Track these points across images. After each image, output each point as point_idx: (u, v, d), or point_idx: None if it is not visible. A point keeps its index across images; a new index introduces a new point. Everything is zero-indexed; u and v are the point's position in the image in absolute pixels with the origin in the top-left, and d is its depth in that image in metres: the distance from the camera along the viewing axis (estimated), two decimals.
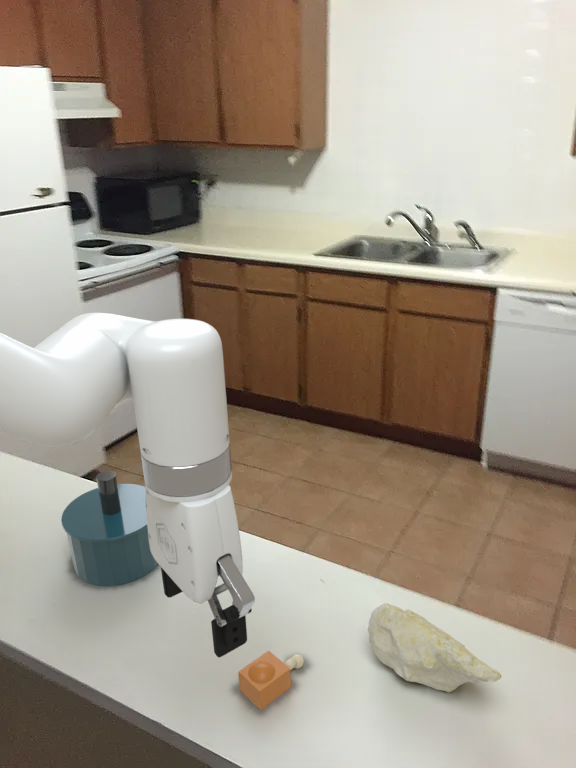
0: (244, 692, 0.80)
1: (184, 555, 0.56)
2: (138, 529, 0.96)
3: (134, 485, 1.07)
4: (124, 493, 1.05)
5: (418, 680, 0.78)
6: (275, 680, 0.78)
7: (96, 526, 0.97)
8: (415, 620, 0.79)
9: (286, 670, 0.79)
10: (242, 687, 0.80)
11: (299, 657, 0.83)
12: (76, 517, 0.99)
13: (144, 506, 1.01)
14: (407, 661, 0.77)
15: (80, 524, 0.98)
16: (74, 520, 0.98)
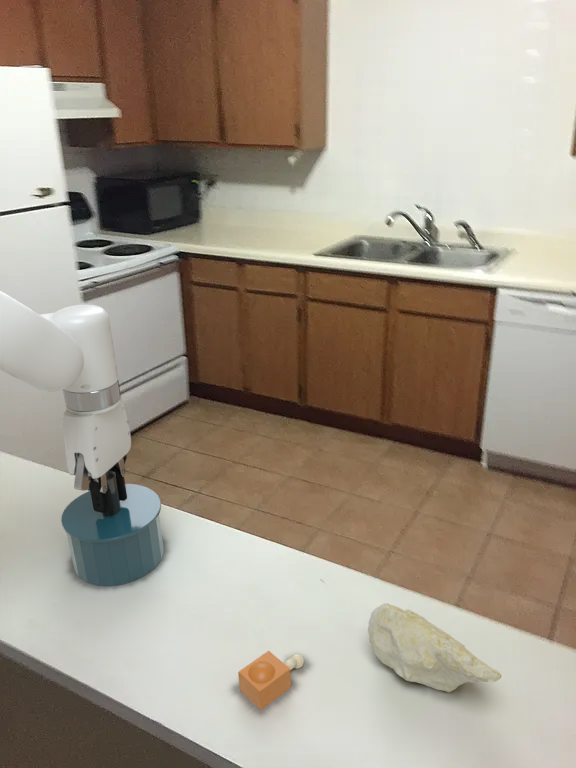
0: (244, 692, 0.80)
1: None
2: (138, 529, 0.96)
3: (134, 485, 1.07)
4: None
5: (418, 680, 0.78)
6: (275, 680, 0.78)
7: (96, 526, 0.97)
8: (415, 620, 0.79)
9: (286, 670, 0.79)
10: (242, 687, 0.80)
11: (299, 657, 0.83)
12: (76, 517, 0.99)
13: (144, 506, 1.01)
14: (407, 661, 0.77)
15: (80, 524, 0.98)
16: (74, 520, 0.98)
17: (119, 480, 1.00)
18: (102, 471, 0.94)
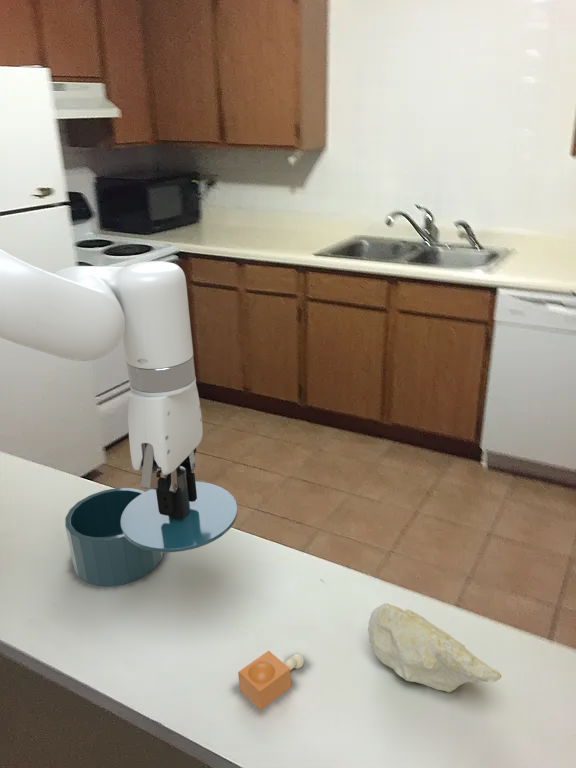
0: (244, 692, 0.80)
1: None
2: (215, 535, 0.79)
3: (201, 483, 0.90)
4: None
5: (418, 680, 0.78)
6: (275, 680, 0.78)
7: (163, 532, 0.80)
8: (415, 620, 0.79)
9: (286, 670, 0.79)
10: (242, 687, 0.80)
11: (299, 657, 0.83)
12: (138, 521, 0.83)
13: (218, 508, 0.85)
14: (407, 661, 0.77)
15: (144, 529, 0.81)
16: (136, 525, 0.82)
17: (189, 477, 0.83)
18: (174, 466, 0.77)
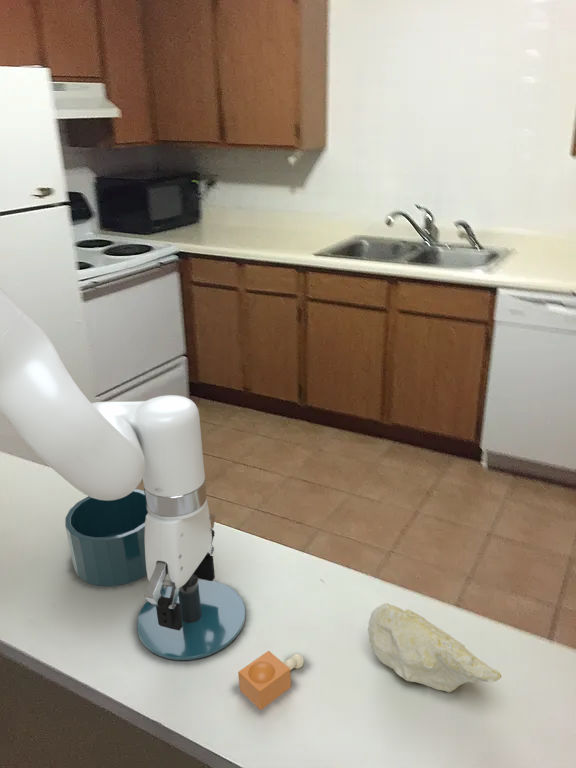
0: (244, 692, 0.80)
1: None
2: (225, 642, 0.86)
3: (211, 582, 0.97)
4: (202, 593, 0.95)
5: (418, 680, 0.78)
6: (275, 680, 0.78)
7: (177, 638, 0.87)
8: (415, 620, 0.79)
9: (286, 670, 0.79)
10: (242, 687, 0.80)
11: (299, 657, 0.83)
12: (153, 625, 0.89)
13: (227, 611, 0.91)
14: (407, 661, 0.77)
15: (159, 635, 0.88)
16: (152, 630, 0.89)
17: (208, 560, 0.92)
18: (186, 579, 0.84)
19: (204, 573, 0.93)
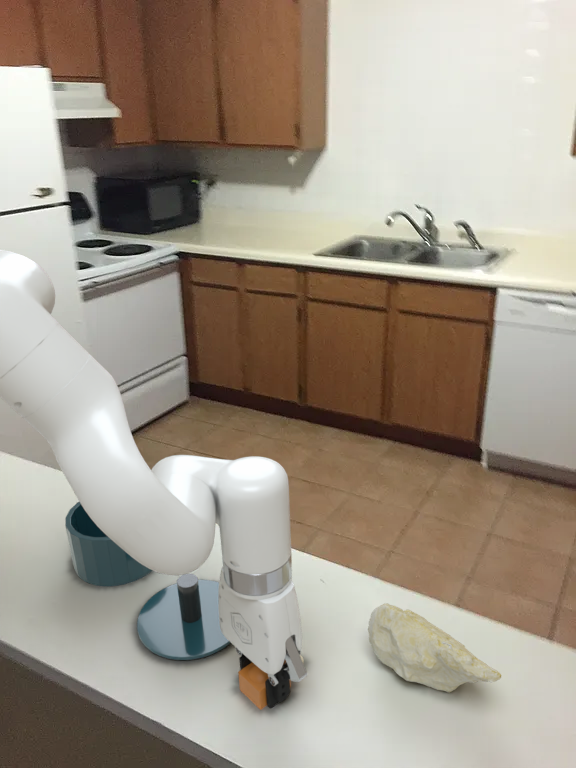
0: (244, 692, 0.80)
1: (260, 639, 0.72)
2: (225, 642, 0.86)
3: (211, 582, 0.97)
4: (202, 593, 0.95)
5: (418, 680, 0.78)
6: None
7: (177, 638, 0.87)
8: (415, 620, 0.79)
9: None
10: (242, 687, 0.80)
11: None
12: (153, 625, 0.89)
13: None
14: (407, 661, 0.77)
15: (159, 635, 0.88)
16: (152, 630, 0.89)
17: None
18: None
19: None
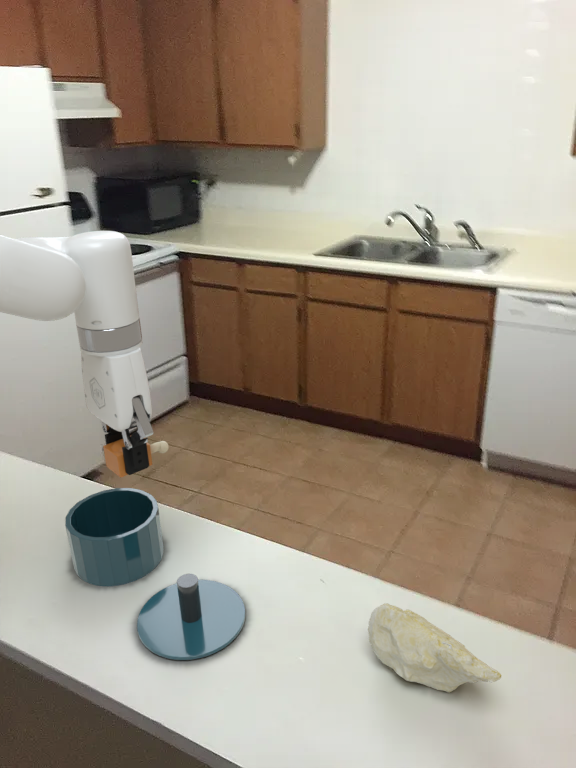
0: (109, 465, 0.89)
1: (109, 396, 0.81)
2: (225, 642, 0.86)
3: (211, 582, 0.97)
4: (202, 593, 0.95)
5: (418, 680, 0.78)
6: None
7: (177, 638, 0.87)
8: (415, 620, 0.79)
9: None
10: (107, 460, 0.89)
11: (163, 442, 0.92)
12: (153, 625, 0.89)
13: (227, 611, 0.91)
14: (407, 661, 0.77)
15: (159, 635, 0.88)
16: (152, 630, 0.89)
17: None
18: None
19: None
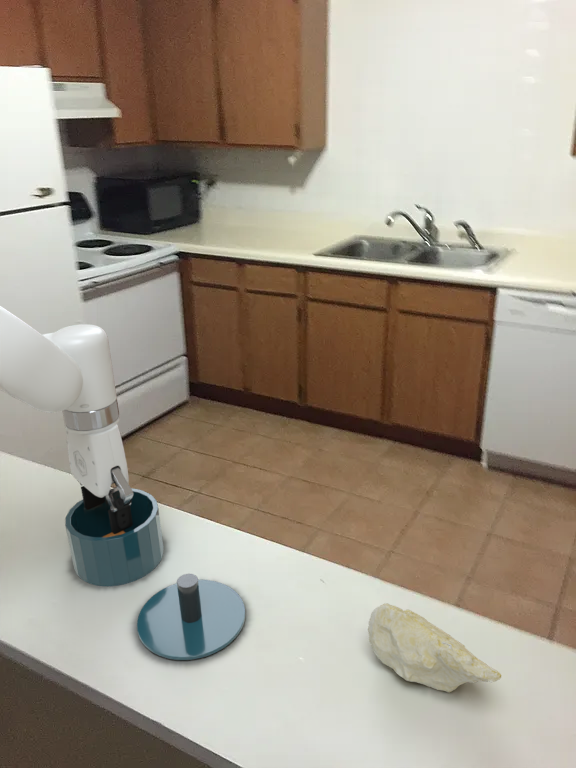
0: None
1: (90, 467, 0.92)
2: (225, 642, 0.86)
3: (211, 582, 0.97)
4: (202, 593, 0.95)
5: (418, 680, 0.78)
6: None
7: (177, 638, 0.87)
8: (415, 620, 0.79)
9: None
10: None
11: None
12: (153, 625, 0.89)
13: (227, 611, 0.91)
14: (407, 661, 0.77)
15: (159, 635, 0.88)
16: (152, 630, 0.89)
17: None
18: None
19: (97, 499, 1.03)
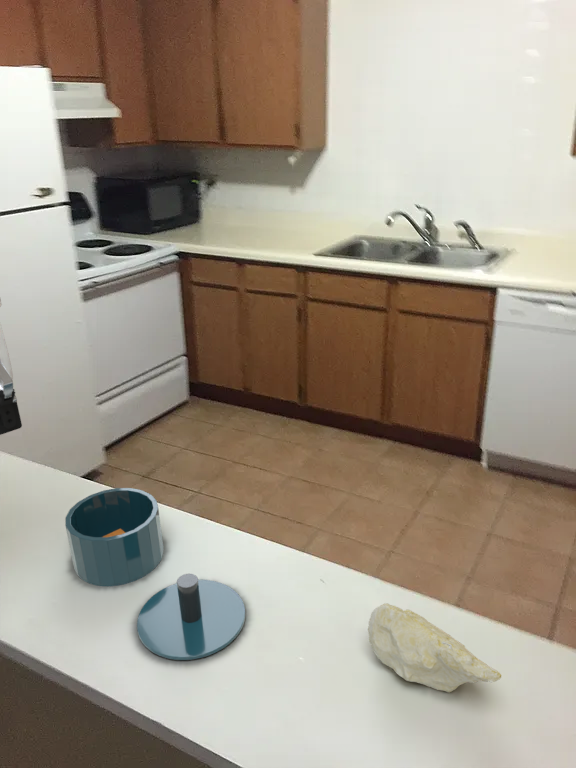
0: None
1: None
2: (225, 642, 0.86)
3: (211, 582, 0.97)
4: (202, 593, 0.95)
5: (418, 680, 0.78)
6: None
7: (177, 638, 0.87)
8: (415, 620, 0.79)
9: None
10: None
11: None
12: (153, 625, 0.89)
13: (227, 611, 0.91)
14: (407, 661, 0.77)
15: (159, 635, 0.88)
16: (152, 630, 0.89)
17: None
18: None
19: None
